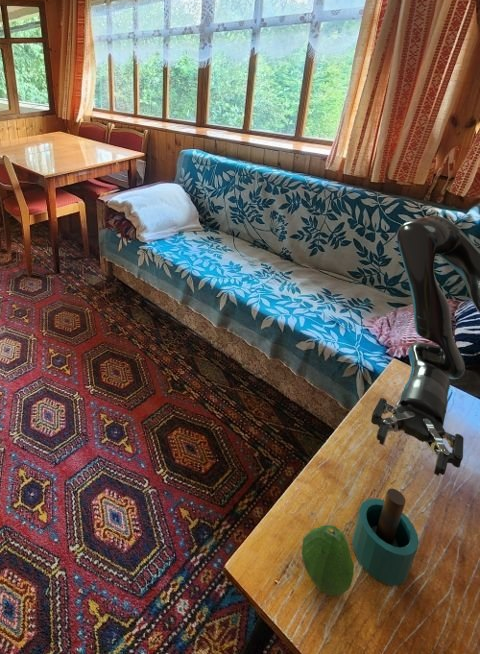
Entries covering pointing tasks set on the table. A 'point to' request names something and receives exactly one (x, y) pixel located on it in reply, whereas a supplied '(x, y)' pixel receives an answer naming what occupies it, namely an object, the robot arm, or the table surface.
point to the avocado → (328, 560)
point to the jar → (384, 545)
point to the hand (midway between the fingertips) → (408, 456)
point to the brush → (390, 517)
